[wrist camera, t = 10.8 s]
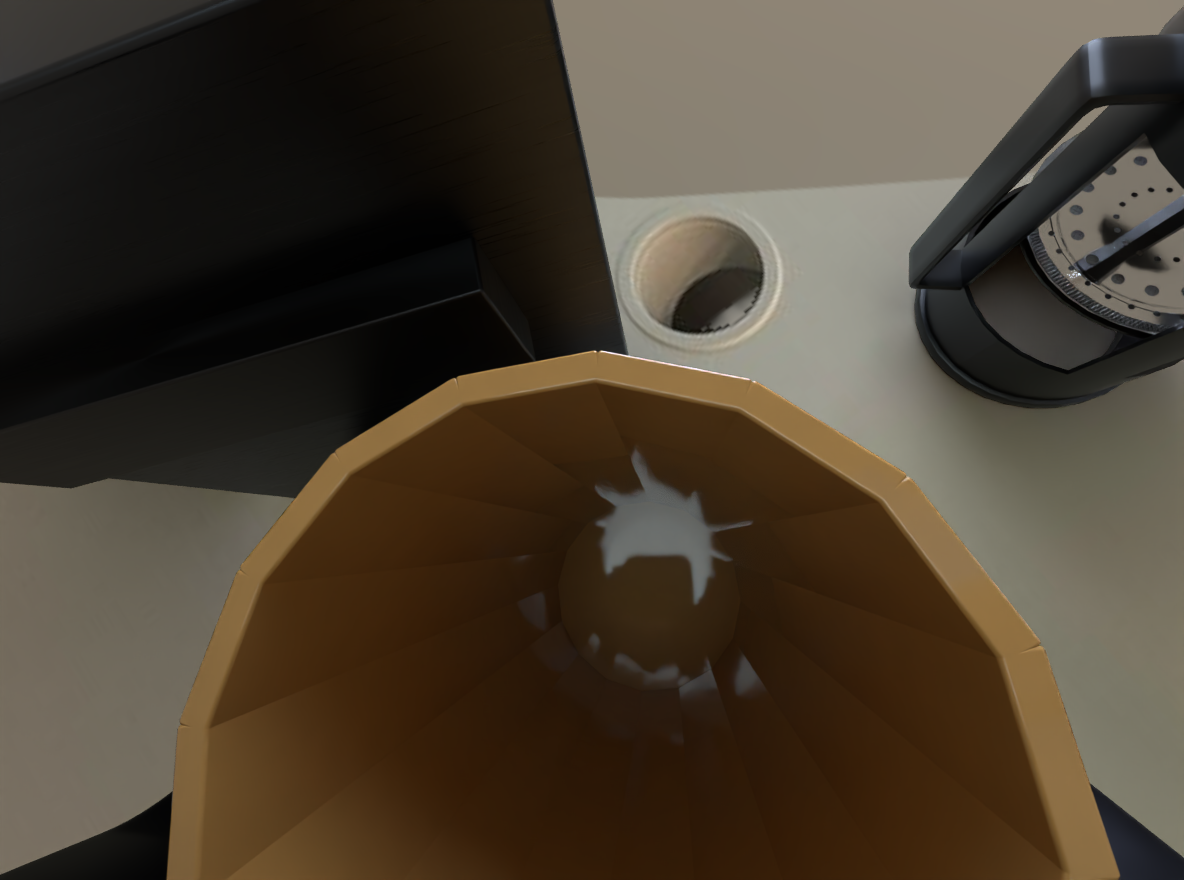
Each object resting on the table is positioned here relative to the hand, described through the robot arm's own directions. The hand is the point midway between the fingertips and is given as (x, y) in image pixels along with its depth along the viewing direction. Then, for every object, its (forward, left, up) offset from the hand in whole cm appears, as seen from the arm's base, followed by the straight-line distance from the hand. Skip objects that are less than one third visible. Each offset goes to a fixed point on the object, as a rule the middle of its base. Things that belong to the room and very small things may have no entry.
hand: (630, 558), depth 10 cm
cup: (-1, 0, -7) cm, 7 cm away
